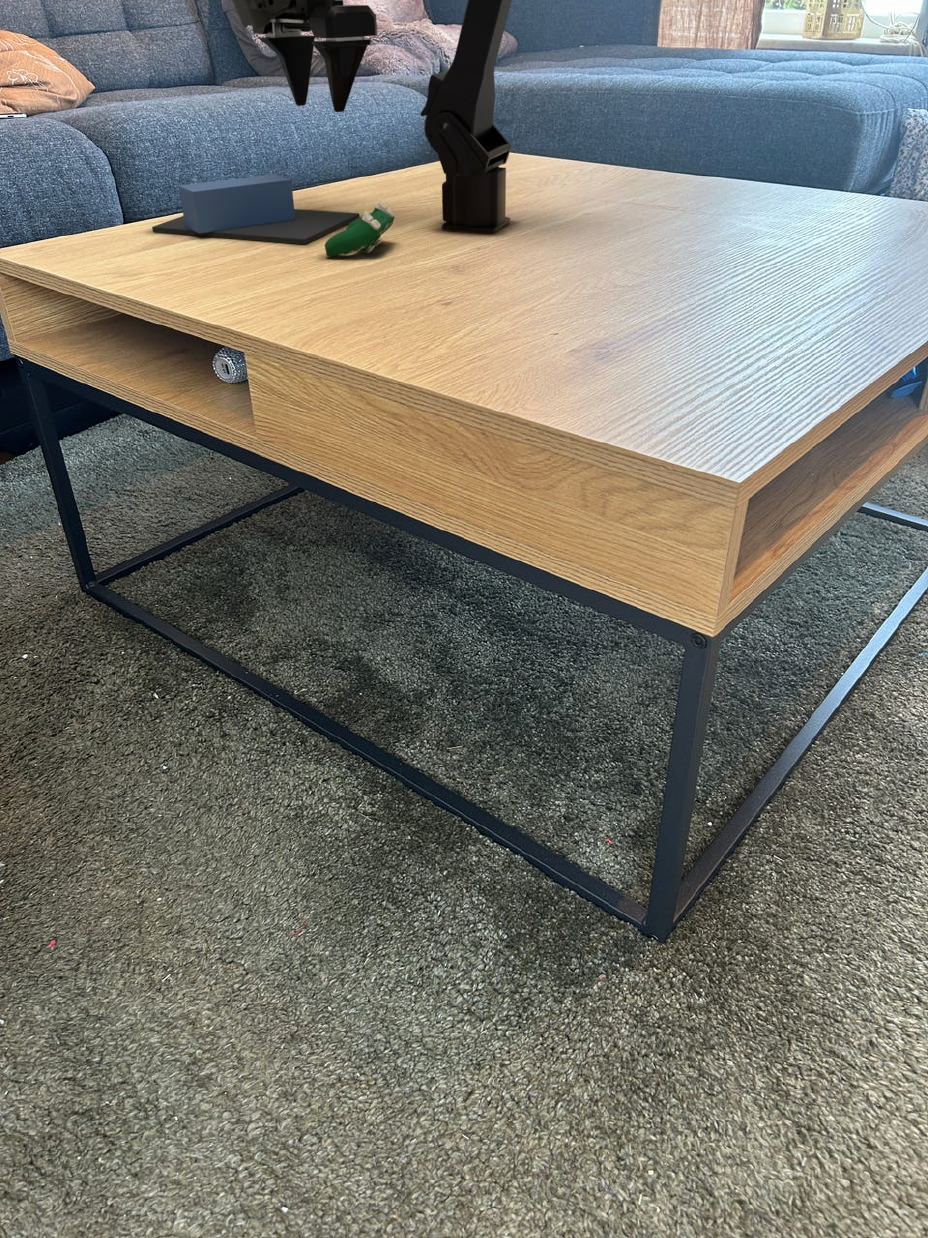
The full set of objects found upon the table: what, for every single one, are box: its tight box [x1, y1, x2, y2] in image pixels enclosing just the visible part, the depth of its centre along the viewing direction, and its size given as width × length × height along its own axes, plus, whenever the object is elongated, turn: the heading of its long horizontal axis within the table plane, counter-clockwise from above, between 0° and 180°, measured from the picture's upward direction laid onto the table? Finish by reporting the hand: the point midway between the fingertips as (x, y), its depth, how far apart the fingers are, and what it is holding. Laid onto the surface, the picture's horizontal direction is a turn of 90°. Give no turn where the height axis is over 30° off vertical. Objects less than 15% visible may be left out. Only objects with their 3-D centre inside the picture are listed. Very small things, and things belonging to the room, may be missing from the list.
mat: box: [151, 208, 361, 245], centre depth 114 cm, size 20×14×1 cm
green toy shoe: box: [324, 200, 396, 258], centre depth 103 cm, size 9×4×6 cm
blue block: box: [178, 173, 295, 233], centre depth 111 cm, size 4×4×12 cm
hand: (319, 108), depth 111 cm, fingers open, 9 cm apart
